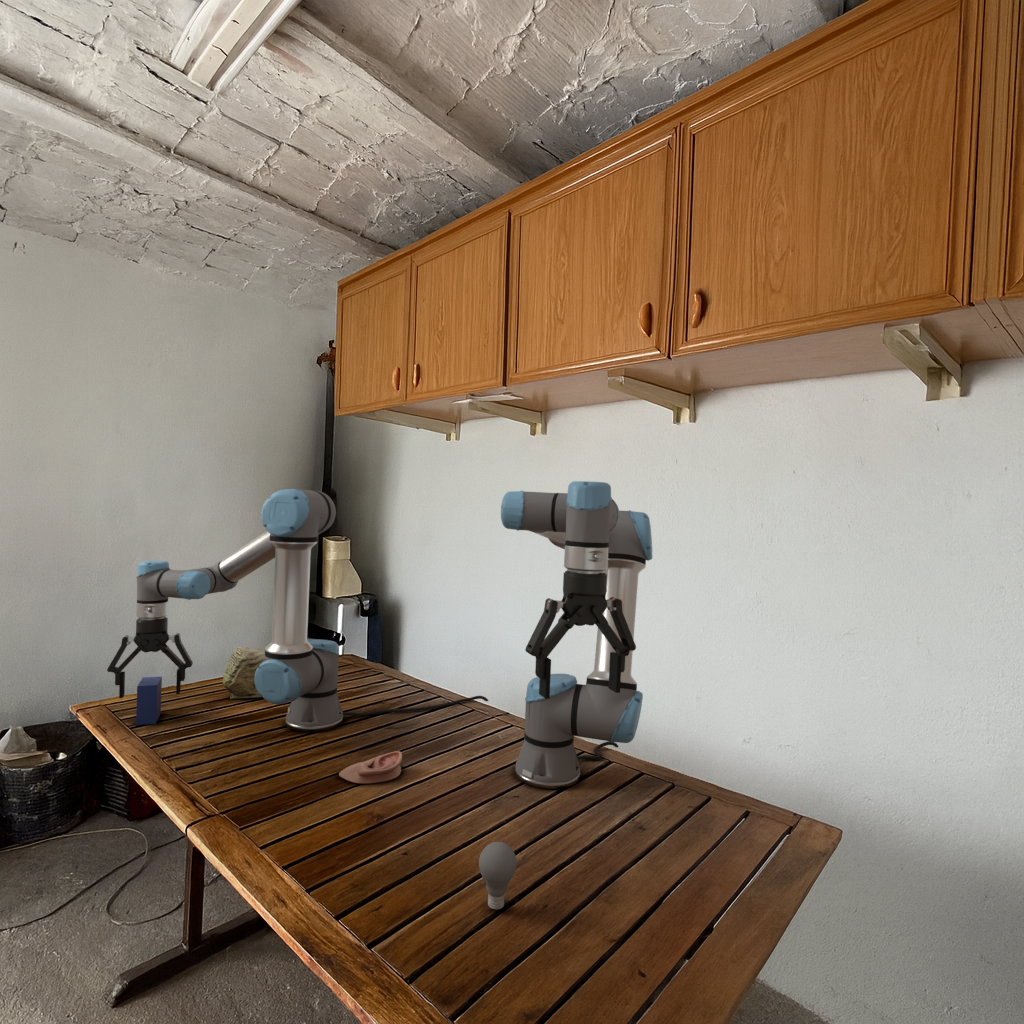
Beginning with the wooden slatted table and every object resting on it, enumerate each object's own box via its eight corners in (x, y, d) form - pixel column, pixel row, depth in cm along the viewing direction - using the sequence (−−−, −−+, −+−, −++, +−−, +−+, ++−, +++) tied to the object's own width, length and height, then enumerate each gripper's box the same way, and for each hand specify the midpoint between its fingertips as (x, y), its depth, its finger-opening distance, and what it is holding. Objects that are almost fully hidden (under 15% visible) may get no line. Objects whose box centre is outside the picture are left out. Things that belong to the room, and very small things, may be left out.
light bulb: (476, 895, 103) (478, 834, 102) (513, 894, 103) (515, 834, 103) (477, 919, 97) (480, 854, 96) (516, 919, 97) (519, 854, 97)
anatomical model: (332, 762, 141) (355, 743, 152) (332, 780, 141) (355, 759, 153) (388, 770, 139) (407, 750, 150) (388, 788, 139) (407, 766, 150)
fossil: (218, 695, 195) (220, 647, 195) (278, 685, 208) (279, 640, 207) (228, 703, 189) (230, 653, 188) (289, 692, 201) (290, 645, 201)
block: (141, 715, 177) (142, 677, 176) (160, 713, 178) (162, 676, 178) (135, 725, 169) (137, 686, 169) (156, 723, 170) (157, 684, 170)
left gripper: (95, 621, 165) (93, 702, 165) (201, 618, 174) (199, 695, 175) (102, 616, 172) (100, 694, 172) (203, 613, 181) (202, 687, 182)
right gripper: (527, 573, 101) (521, 705, 101) (659, 573, 110) (653, 694, 111) (510, 568, 108) (504, 691, 108) (635, 568, 117) (630, 682, 118)
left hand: (150, 694), depth 173 cm, fingers open, 13 cm apart
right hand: (579, 693), depth 110 cm, fingers open, 13 cm apart
